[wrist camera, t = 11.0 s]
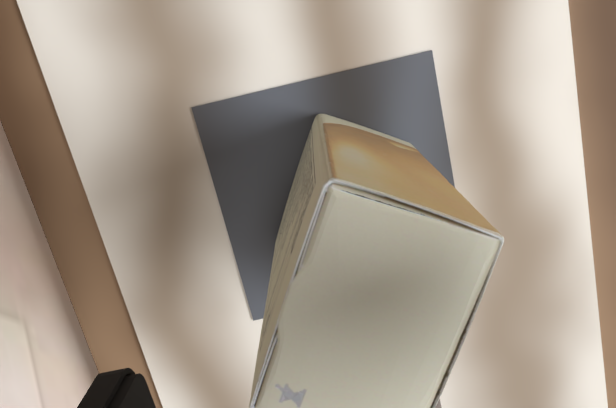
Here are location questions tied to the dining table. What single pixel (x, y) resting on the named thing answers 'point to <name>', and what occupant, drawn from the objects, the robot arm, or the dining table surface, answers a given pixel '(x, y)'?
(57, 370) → the dining table surface
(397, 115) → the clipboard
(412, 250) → the skincare box
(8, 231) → the dining table surface
